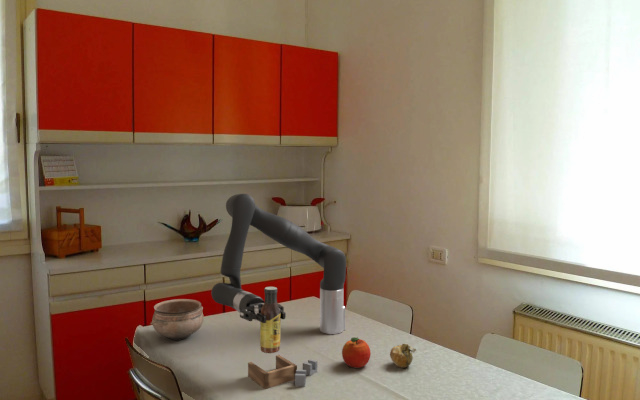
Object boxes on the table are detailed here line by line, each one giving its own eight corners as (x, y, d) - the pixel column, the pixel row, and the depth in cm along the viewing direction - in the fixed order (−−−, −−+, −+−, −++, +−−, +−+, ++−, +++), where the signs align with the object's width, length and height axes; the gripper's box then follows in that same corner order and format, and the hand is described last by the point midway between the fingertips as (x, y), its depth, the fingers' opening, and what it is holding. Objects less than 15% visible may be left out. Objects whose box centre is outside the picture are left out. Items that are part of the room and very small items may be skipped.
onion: (407, 360, 183) (408, 337, 182) (416, 369, 175) (417, 345, 175) (386, 362, 182) (386, 339, 181) (394, 371, 174) (395, 347, 173)
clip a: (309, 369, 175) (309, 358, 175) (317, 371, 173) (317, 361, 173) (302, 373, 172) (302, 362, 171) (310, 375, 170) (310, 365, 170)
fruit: (374, 362, 181) (375, 333, 180) (364, 373, 172) (365, 342, 171) (348, 357, 185) (348, 329, 184) (337, 367, 176) (337, 338, 175)
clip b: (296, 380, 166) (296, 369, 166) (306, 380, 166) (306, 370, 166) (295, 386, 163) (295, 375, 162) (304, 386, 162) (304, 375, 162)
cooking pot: (170, 352, 189) (169, 318, 188) (135, 341, 199) (134, 309, 198) (219, 332, 210) (219, 301, 209) (185, 323, 220) (184, 294, 219)
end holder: (278, 368, 176) (278, 354, 175) (297, 379, 167) (297, 365, 167) (248, 376, 169) (248, 362, 169) (265, 388, 161) (265, 374, 160)
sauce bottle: (276, 355, 164) (277, 291, 162) (257, 353, 165) (257, 290, 163) (282, 347, 171) (283, 286, 168) (263, 345, 172) (264, 284, 170)
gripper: (229, 296, 174) (254, 309, 160) (267, 290, 182) (294, 302, 169) (229, 319, 175) (254, 334, 161) (267, 311, 183) (294, 325, 169)
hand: (274, 317), depth 165 cm, fingers closed on sauce bottle, 6 cm apart
